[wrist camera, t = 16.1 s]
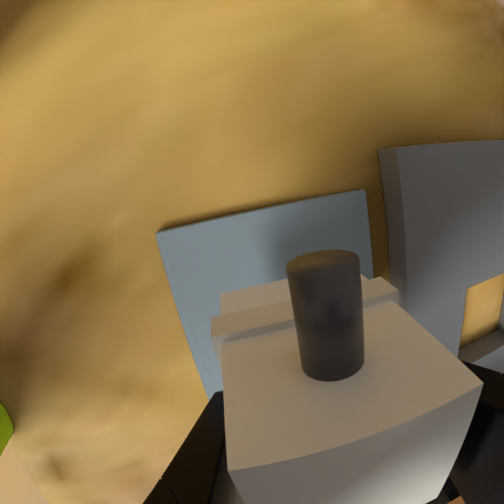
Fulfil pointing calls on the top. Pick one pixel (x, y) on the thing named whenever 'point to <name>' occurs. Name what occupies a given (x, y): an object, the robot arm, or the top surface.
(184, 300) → the mat
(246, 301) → the plug
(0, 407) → the soap dispenser
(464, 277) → the socket block
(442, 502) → the muzzle brake
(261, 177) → the top surface
